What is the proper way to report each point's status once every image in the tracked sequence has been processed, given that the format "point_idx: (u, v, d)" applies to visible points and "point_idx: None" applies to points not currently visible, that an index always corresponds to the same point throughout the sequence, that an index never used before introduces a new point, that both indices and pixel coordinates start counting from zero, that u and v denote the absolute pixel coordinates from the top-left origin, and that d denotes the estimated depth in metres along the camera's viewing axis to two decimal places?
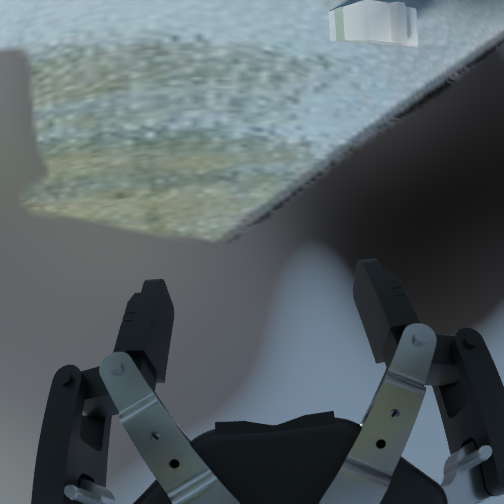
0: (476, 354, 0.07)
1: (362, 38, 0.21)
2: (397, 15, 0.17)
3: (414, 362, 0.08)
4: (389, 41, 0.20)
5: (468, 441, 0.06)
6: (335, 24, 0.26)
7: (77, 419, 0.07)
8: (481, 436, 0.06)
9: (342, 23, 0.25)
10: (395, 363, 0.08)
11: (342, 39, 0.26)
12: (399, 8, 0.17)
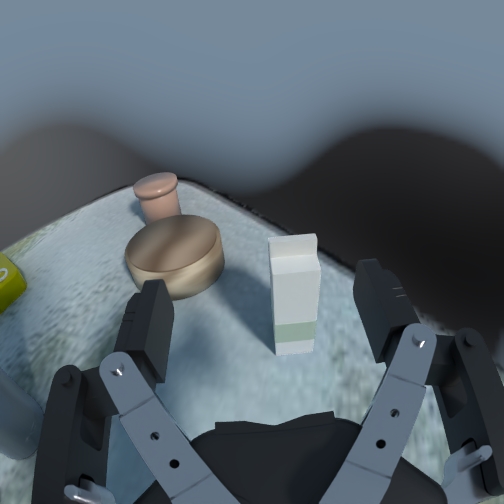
0: (476, 354, 0.07)
1: (318, 284, 0.26)
2: (286, 242, 0.26)
3: (414, 362, 0.08)
4: (315, 255, 0.27)
5: (468, 441, 0.06)
6: (293, 340, 0.31)
7: (77, 419, 0.07)
8: (481, 436, 0.06)
9: (295, 326, 0.29)
10: (395, 363, 0.08)
11: (314, 326, 0.29)
12: (277, 241, 0.26)
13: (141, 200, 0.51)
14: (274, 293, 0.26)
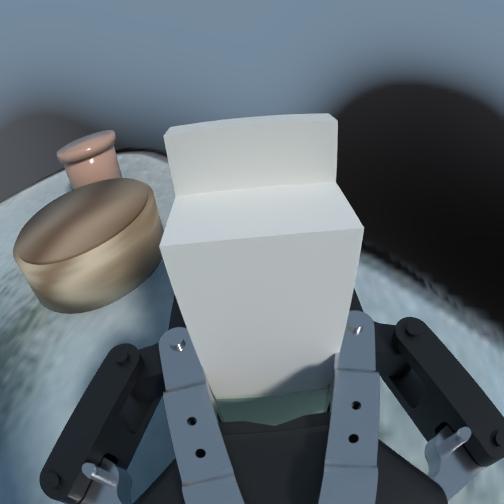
0: (423, 342, 0.08)
1: (346, 289, 0.07)
2: (224, 129, 0.07)
3: (358, 350, 0.08)
4: (332, 186, 0.07)
5: (441, 424, 0.07)
6: (271, 422, 0.12)
7: (121, 401, 0.08)
8: (454, 419, 0.06)
9: (272, 402, 0.10)
10: (339, 356, 0.08)
11: (324, 398, 0.10)
12: None
13: (65, 167, 0.32)
14: (187, 319, 0.07)
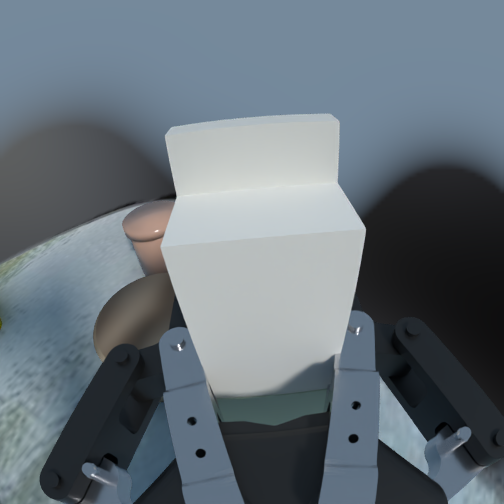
0: (422, 342, 0.08)
1: (348, 290, 0.07)
2: (225, 130, 0.07)
3: (357, 350, 0.08)
4: (334, 186, 0.07)
5: (440, 424, 0.07)
6: (272, 423, 0.12)
7: (121, 401, 0.08)
8: (454, 419, 0.06)
9: (273, 402, 0.10)
10: (339, 356, 0.08)
11: None
12: None
13: (132, 240, 0.38)
14: (188, 320, 0.07)
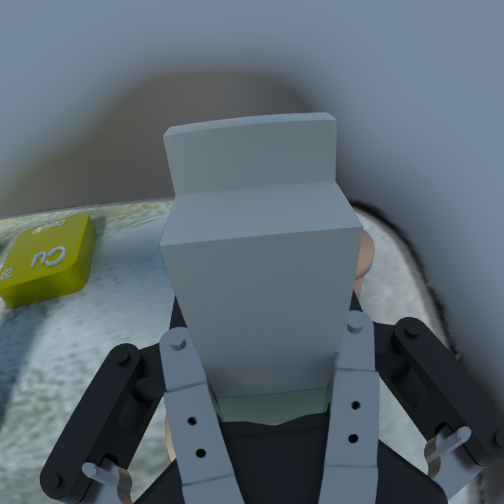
0: (422, 342, 0.08)
1: (346, 288, 0.07)
2: (223, 129, 0.07)
3: (357, 350, 0.08)
4: (332, 184, 0.07)
5: (440, 424, 0.07)
6: (273, 422, 0.12)
7: (121, 401, 0.08)
8: (454, 419, 0.06)
9: (273, 401, 0.10)
10: (338, 356, 0.08)
11: None
12: None
13: None
14: (187, 319, 0.07)
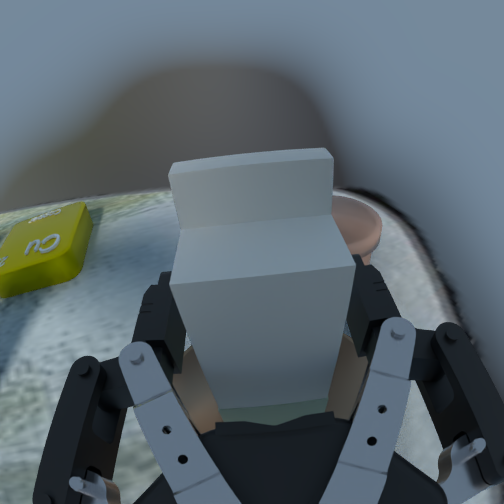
0: (459, 348, 0.08)
1: (340, 316, 0.07)
2: (225, 169, 0.07)
3: (395, 356, 0.08)
4: (328, 218, 0.08)
5: (459, 434, 0.07)
6: None
7: (91, 412, 0.07)
8: (473, 429, 0.06)
9: (273, 411, 0.11)
10: (376, 359, 0.08)
11: (321, 407, 0.11)
12: None
13: None
14: (195, 344, 0.08)
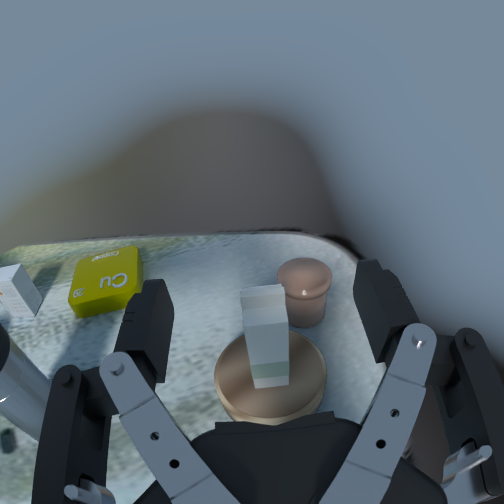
0: (476, 354, 0.07)
1: (286, 333, 0.28)
2: (255, 296, 0.28)
3: (414, 362, 0.08)
4: (284, 306, 0.29)
5: (468, 441, 0.06)
6: (269, 376, 0.33)
7: (77, 419, 0.07)
8: (481, 436, 0.06)
9: (269, 366, 0.31)
10: (395, 363, 0.08)
11: (287, 365, 0.31)
12: (247, 295, 0.28)
13: None
14: (246, 341, 0.28)
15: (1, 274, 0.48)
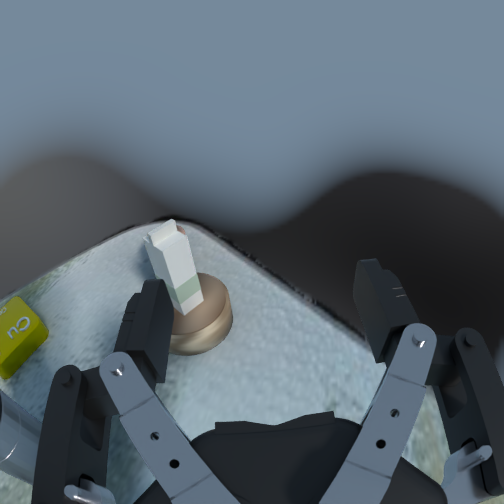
0: (476, 354, 0.07)
1: (188, 246, 0.40)
2: (159, 230, 0.38)
3: (414, 362, 0.08)
4: (177, 231, 0.41)
5: (468, 441, 0.06)
6: (189, 296, 0.44)
7: (77, 419, 0.07)
8: (481, 436, 0.06)
9: (186, 284, 0.43)
10: (395, 363, 0.08)
11: (197, 278, 0.44)
12: (153, 232, 0.38)
13: None
14: (167, 264, 0.39)
15: None
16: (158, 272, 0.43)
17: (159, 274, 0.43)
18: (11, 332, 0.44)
